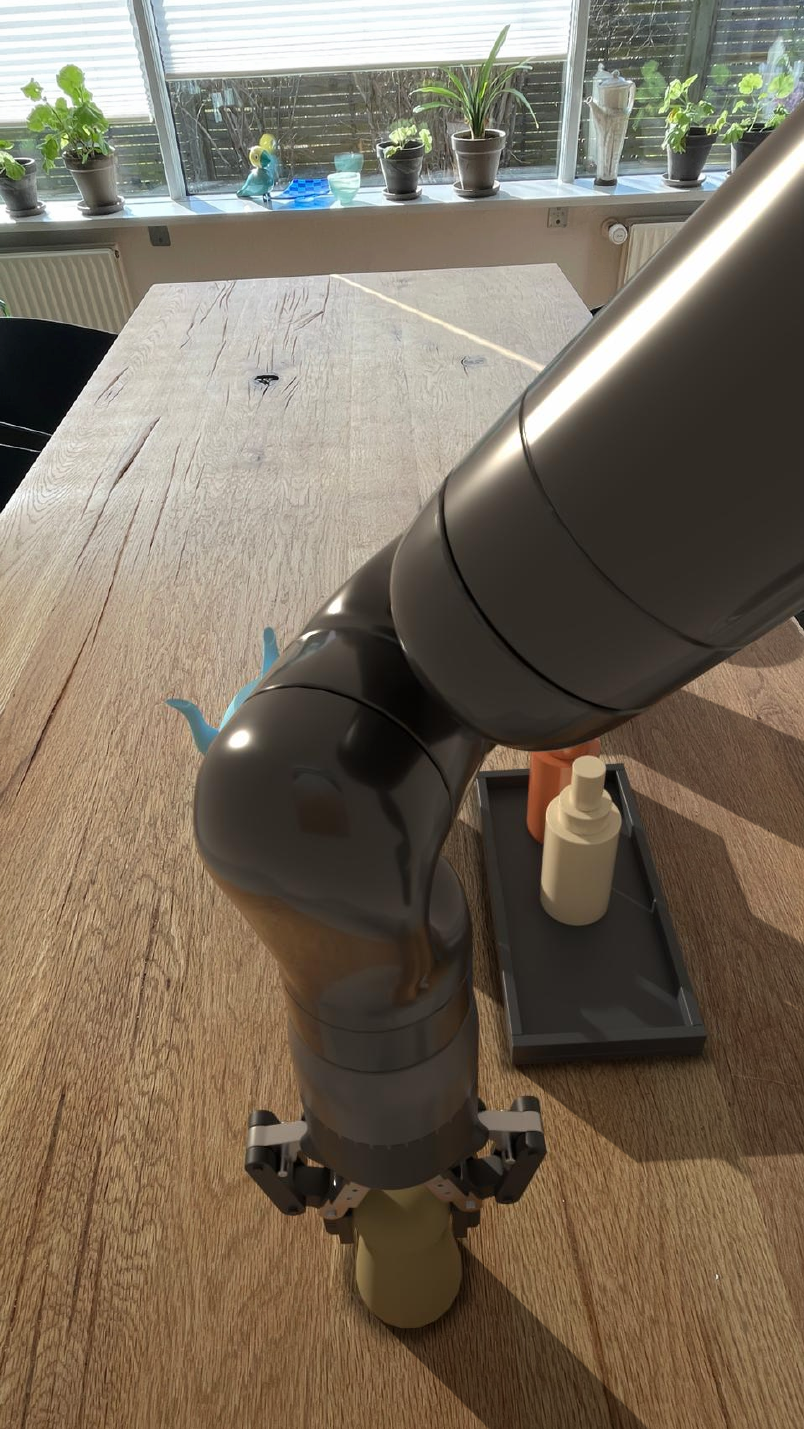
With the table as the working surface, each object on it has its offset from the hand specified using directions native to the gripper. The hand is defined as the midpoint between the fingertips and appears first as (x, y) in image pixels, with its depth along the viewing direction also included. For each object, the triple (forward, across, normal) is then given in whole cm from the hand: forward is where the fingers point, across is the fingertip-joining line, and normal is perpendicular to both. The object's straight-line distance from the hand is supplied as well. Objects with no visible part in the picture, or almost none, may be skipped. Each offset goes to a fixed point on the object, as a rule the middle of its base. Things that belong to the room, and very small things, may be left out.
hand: (404, 1220), depth 49 cm
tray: (+6, +14, +25) cm, 29 cm away
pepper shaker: (+7, 0, 0) cm, 7 cm away
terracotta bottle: (+6, +14, +32) cm, 35 cm away
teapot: (+7, -9, +41) cm, 42 cm away
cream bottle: (+6, +14, +25) cm, 29 cm away
